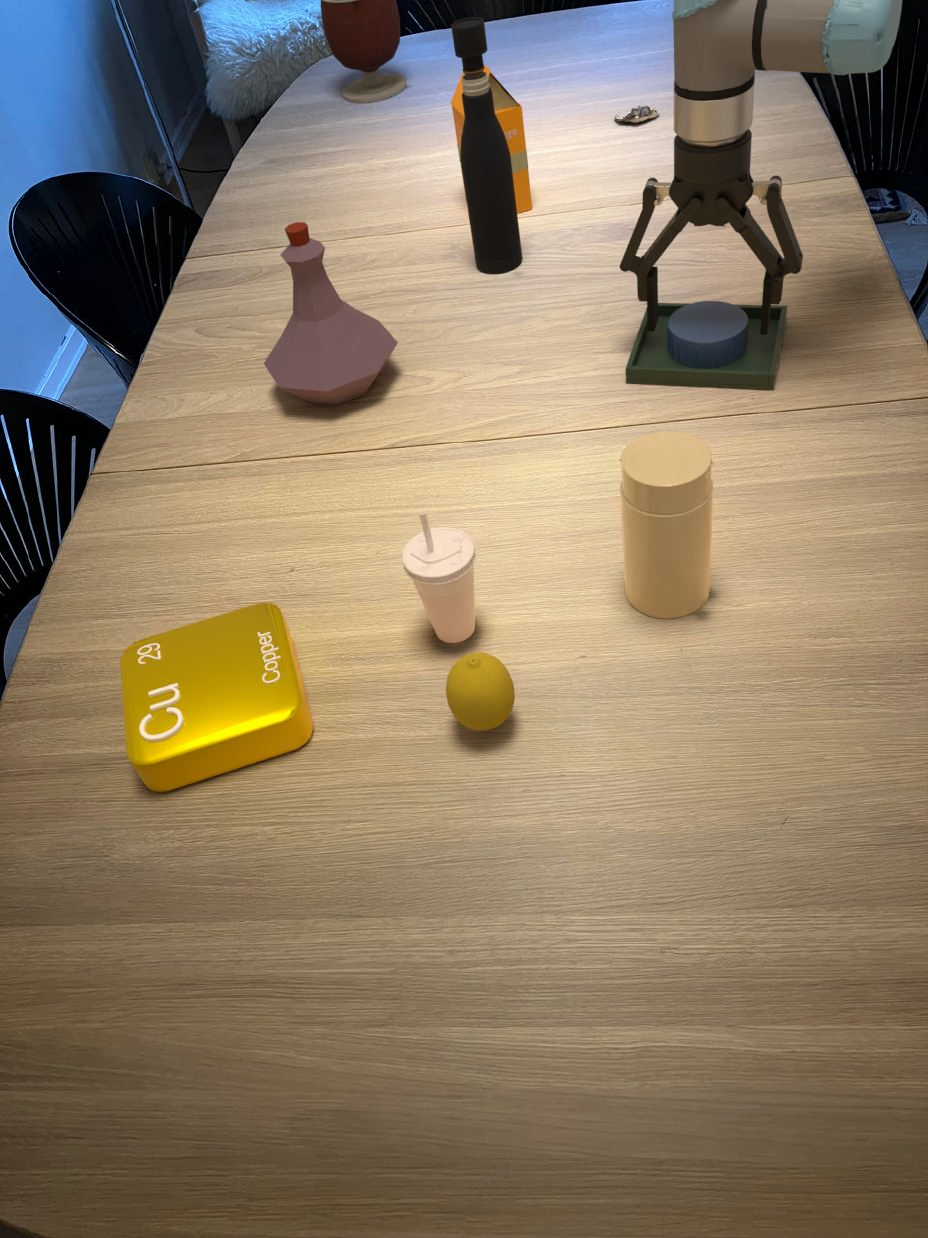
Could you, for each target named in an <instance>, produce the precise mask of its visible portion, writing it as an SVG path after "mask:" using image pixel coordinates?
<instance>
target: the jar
mask: <svg viewBox="0 0 928 1238" xmlns="http://www.w3.org/2000/svg"><path fill="white" fill-rule="evenodd" d="M619 462H620V466H621V467H620V468H621V483H620V485H619V486H620V487H619V495H620V496H619V497H620V498H619V499H620V516H621V517H620V518H621V536H622V537H621V538H622V557H623V574H624V575H623V576H624V577H623V578H624V592H625V597H626V599H627V601H628V603H629V604H630V605H631V606H632V607H633V608H634V609H635V610H637V611H638V612H639V613H642V614H643V615H645V616H649V617H651V618H656V619H663V620H664V619H665V620H669V619H671V620H672V619H678V618H683V617H685V616H688V615H691V614H694V613H695V612H696V611H698V610H699V609H701V608H702V607H703V606H704V604H705V603H706V601H707V600H708V598H709V596H710V591H711V569H712V568H711V567H712V539H713V537H712V534H713V508H714V483H713V479H712V470H713V468H714V467H713V466H714V459H713V455H712V452H711V449H710V447H709V446H708V445H707V444H706V443H705V442H704V441H703V440H702V439H700V438H698V437H697V436H695V435H692V434H689V433H687V432H681V431H673V430H670V431H669V430H664V431H657V432H652V433H648V434H645V435H643V436H639V437H638V438H636V439H634V440H633V441H631V442H630V443H629V444H628V445H626V446H625V448H624V450H623V451H621V454H620V457H619Z"/></svg>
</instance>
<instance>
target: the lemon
mask: <svg viewBox="0 0 928 1238" xmlns="http://www.w3.org/2000/svg"><path fill="white" fill-rule="evenodd" d="M445 694H446V702H447V706H448V707H449V709H450V711H451V713H452V716H453V717H454V718H455V719H456V720H457V721H458V722H459V723H460V724H461V725H462V726H464V727H465V728H468V729H469V730H473V731H477V732H479V731H480V732H486V731H491V730H493V729H496V728H497V727H500V726H501V725H502V724H503V723H504V722H505V721H506V720H507V719H508V718H509V716H510V715H511V713H512V711H513V708H514V704H515V698H516V697H515V684H514V681H513V679H512V676H511V674H510V671H509V670H508V669H507V667H506V666H505V664H504V663H503V662H502V661H501V660H500V659H498V658H497V657H495V655H492V654H490V653H487V652H471V653H468V654H465V655H463V656H461V657H460V658H459V659H457V660H456V661H455V662H454V664H453V665H452V666H451V667H450V670H449V672H448V674H447V678H446V684H445Z"/></svg>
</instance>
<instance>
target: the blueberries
mask: <svg viewBox="0 0 928 1238" xmlns="http://www.w3.org/2000/svg"><path fill="white" fill-rule="evenodd" d="M650 107H651V106H648V105H644V106H643V105H638V106H637V107H636V108H635V107H633V108H631V110H630V111H631V113H629V114H628V115H627V116H625V117H623V119H619V120H617V121H618V122H624V123H625V122H626V123H628V122H630V123H634V124H635V123H639V122H643V121H646V120H648V119H653V118H654V119H655V118H656V117H658V116H660V114H659V115H658V114H657V113H656V112H655V111H657V109H656V110H655V109H653V110H650ZM616 115H617V114H616ZM614 117H615V118H617V117H619V116H618V115H617V117H616V116H615V115H614ZM615 118H614V119H615Z"/></svg>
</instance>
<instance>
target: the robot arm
mask: <svg viewBox="0 0 928 1238" xmlns="http://www.w3.org/2000/svg"><path fill="white" fill-rule="evenodd" d="M902 6H903V0H673V10H672V12H671V19H672V24H673V25H672V26H673V28H672V29H673V73H674V74H673V75H674V77H673V79H674V80H673V132H674V133H675V134H676V135H675V137H674V139H673V179H672V181H671V182H662V181H659V180H658V178H656V177H649V178H648V179H647V180H646V183H645V186H644V188H643V191H642V204H641V205H642V207H641V211H640V213H639V216H638V219H637V221H636V224H635V226H634V229H633V231H632V234H631V236H630V239H629V241H628V244H627V247H626V249H625V251H624V254H623V255H622V259H621V261H620V264H619V269H620V271H622V272H623V273H626V272H631V273H633V274H635V276H636V285H637V286H636V287H637V299H638V301H639V302H644V303H645V302H646V308H647V327H648V331H654V330H655V327H656V324H657V321H658V303H659V278H658V277H659V276H658V273H659V271H658V266H655V264H656V263H657V262H658V261H659V260H660V259H661V258H662V256H663V254H664V253H665V252H666V250H667V249H668V248H669V247H670V246H671V245H672V243H673V242H674V241H675V239H676V237H678V235H679V234H680V233H681V232H683V230H684V229H685V227H686V226H687V225H688V223H690V224H693V227H705V226H708V225H710V226H714V227H725V225H727V224H729V225H730V226H731V228H732V229H733V230H734V232H735V233H737V234H739V235H740V237H741V238H742V239H743V241H744V242H745V244H746V245H747V246H748V247H749V248H750V250H751V251H752V253H754V256H755V257H756V259H757V260H758V261H759V262H760V264H761V265H762V266H763V267H764V269H765V273H764V277H763V284H762V298H761V299H762V300H761V305H762V313H761V328H760V335H767V333H768V328H769V323H770V311H771V305H780V303H781V301H782V297H783V291H784V277H786V276H787V275H789V274H790V275H791V274H793V275H796V274H799V273H800V272H801V271H802V265H803V262H804V261H803V260H804V255H803V252H802V250H801V249H802V248H801V247H800V243H799V241H798V238H797V236H796V232H795V230H794V228H793V225H792V222H791V220H790V216H789V213H788V211H787V209H786V206H785V204H784V201H783V198H782V193H783V192H782V190H783V189H782V188H783V183H782V182H783V179H782V178H781V176H779V175H773V176H771V177H770V179H769V180H756V181H755V180H754V179H753V177H752V175H751V161H752V159H751V157H752V138H753V134H752V133H753V132H752V130H751V127H752V125H753V119H754V100H755V99H754V97H755V96H754V95H755V80H756V79H755V77H756V71H763V72H767V71H768V72H790V73H791V72H793V73H814V74H815V73H818V74H833V75H836V76H846V75H849V74H867V73H875V72H877V71H879V70H881V69H882V68H884V67H885V65H886V64H887V62H888V61H889V59H890V57H891V54H892V52H893V51H892V50H893V47H894V46H895V43H896V40H897V35H898V32H899V26H900V22H901V21H900V20H901V14H902V8H903V7H902ZM753 196H756V197H757V198H758V201H759V202H760V204H761V205H763V206H766V211H767V215H768V218H769V221H770V224H771V226H772V229H773V232H774V234H775V236H776V239H777V242H778V245H779V247H780V250H781V252H782V254H783V256H782V255H781V254H780V252H779V251H778V249H777V247H776V246H775V245H774V244H773V242H772V241H771V240H770V239H769V237H768V236H767V234H766V233H765V232H764V230H763V229H762V228H761V226H760V224H759V222H758V221H757V220H756V219H755V218H754V217H753V215H752V212H751V209H750V208H749V207H748V206H747V203H748V202H749V201H750V199H751V198H752V197H753ZM666 197H669V198H670V199H671V201H672V202H673V204H674V205H675V206H676V207H677V209H676V211H675V213H674V214H673V216H672V217H671V218H670V220H669V221H668V222H667V224H666V225H665V226H664V228H663V229H662V231H660V233H659V234H658V236H657V237H656V238H655V239H654V241H653V242H652V244H651V245H650V246H649V247H648V249H647V250H646V251H645V253H644V254H642V255H641V256H638V255H637V253H638V251H639V249H640V246H641V244H642V241H643V239H644V236H645V235H646V231H647V230H648V226H649V224H650V222H651V219H652V217H653V214H654V212H655V209H656V206H661V205H662V204H663V202H664V199H665V198H666Z"/></svg>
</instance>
